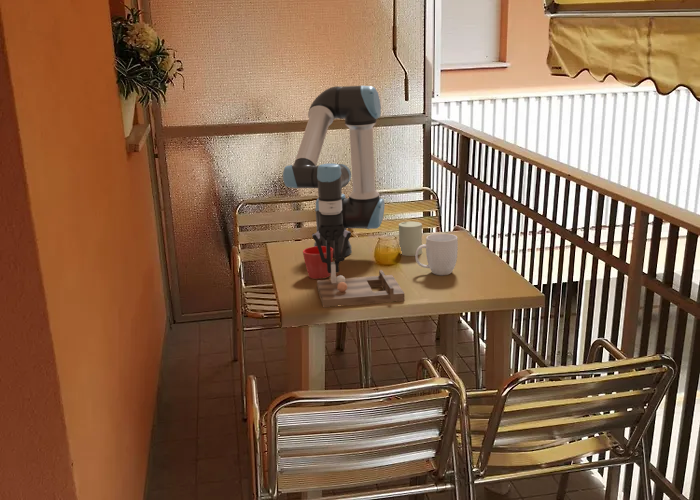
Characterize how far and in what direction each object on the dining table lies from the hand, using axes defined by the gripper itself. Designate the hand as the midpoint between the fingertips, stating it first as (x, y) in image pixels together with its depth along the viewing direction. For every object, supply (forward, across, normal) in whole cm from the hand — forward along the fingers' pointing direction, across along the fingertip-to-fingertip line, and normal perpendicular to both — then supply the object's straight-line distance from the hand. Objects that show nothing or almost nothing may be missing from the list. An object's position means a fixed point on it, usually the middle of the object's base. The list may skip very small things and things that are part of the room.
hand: (333, 281), depth 240 cm
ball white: (0, +2, 0) cm, 2 cm away
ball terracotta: (0, +2, -7) cm, 7 cm away
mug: (+4, +39, +13) cm, 41 cm away
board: (+4, +8, -3) cm, 9 cm away
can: (+4, +35, +41) cm, 54 cm away
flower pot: (+4, -3, +20) cm, 20 cm away
